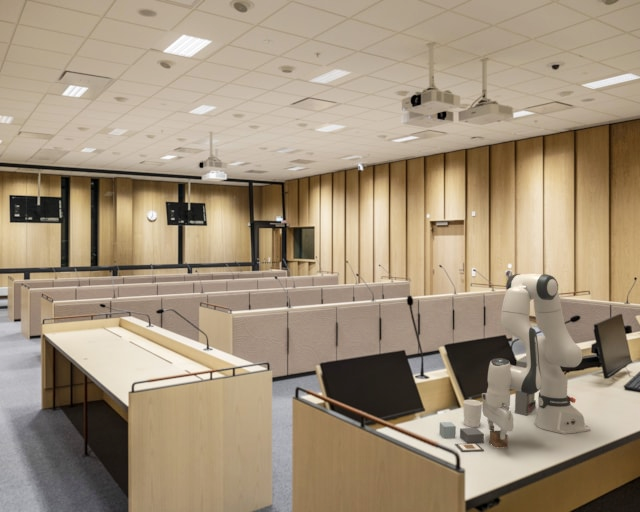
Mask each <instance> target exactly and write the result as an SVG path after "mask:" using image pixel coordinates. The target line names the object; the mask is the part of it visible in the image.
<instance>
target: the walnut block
mask: <svg viewBox="0 0 640 512" xmlns="http://www.w3.org/2000/svg"><path fill="white" fill-rule="evenodd" d="M500 433H501V430H494V431H491V430H489V444H490V445H491V444H492V446H493V447H494V448H495V449H498V448H497V447H504V448H508V439H509V438H508V437H509V436H508V434H507V433H506V435H505V439H500V438H499V434H500Z"/></svg>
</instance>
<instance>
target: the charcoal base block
mask: <svg viewBox="0 0 640 512" xmlns="http://www.w3.org/2000/svg"><path fill="white" fill-rule="evenodd" d="M459 438H460V439H461V440H462V441H463V442H465V444H468V443H477V444H478V445H479V444H484V443H485V434H484V432H482V431H481V430H479V429H478V427H464V428H463V427H462V428H460V429H459Z"/></svg>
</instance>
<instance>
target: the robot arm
mask: <svg viewBox="0 0 640 512" xmlns="http://www.w3.org/2000/svg"><path fill="white" fill-rule="evenodd" d="M505 287H506V288H505V289H506V291H505V294H504V297H503V301H502V306H501V313H500V324H501V327H502V328H503V330H504V331H505V332H507V333H508V334H509V335H511V336H513V337H514V338H516V339H518V340H519V341H520V342H522V343H523V345H524V347H525V356H526V360H527V367H526V368H524V367H518V366H516V365H513V364H511V363H510V361H509V360H508V359H506V358H501V357H499V358H493V359H491V360H490V362H489V365H488V371H487V384H488V386H487V389H486V393H485V392H483V393H481V398H482V401H481V403H482V409H481V412H482V415H483V416H484V417H485V418H487V424H488V430H489V431H495V425H496V426H497V428H500V430H501V433H500V434H499V438H500V439H505V435H506V434H507V433H508V432H513V430H514V415H513V412H512V410H511V408H510V406H511V390H513V391H516V390H517V391H521V392H523V393H527V394H530V395H532V394H534V393H535V394H536V393H538V398H537V399H538V401H537V402H538V409H537V415H536V418H535V421H534V425H535V426H536V427H538V428H540V429H542V430H545V431H548V432H549V431H550V432H555V433H558V434H562V435H568V434H575V433H576V432H577V433H583V432H590V431H591V427H590V426H589V424H587V423H585V417H584V415H583V413H581V412H580V411H579V409H577V408H576V407H574V406H573V405H572V404H575V403H576V401H577V399H576V398H574V397H570V396H569V395H568V377H567V375H566V374H565V373H564V372H563V370H562V368H576V367H578V366H579V365H580V364H581V363H582V361H583V355H584V354H583V351H582V349H581V347H580V346H579V345H578V344H576V343H575V341H574V339H573V338H572V337H571V335H570V332H569V331H568V328H567V327H566V326H567V325H566V322H565V318H564V315H563V314H564V313H563V308H562V302H561V298H560V294H559V292H558V291H559V284H558V281H557V279H556V277H554V276H553V275H550V274H546V273H544V274H542V273H535V272H533V273H532V272H531V273H517V274H512V275H510V276H509V278H508V279H507V281H506V284H505ZM531 300H533V308H534V309H533V310H534V315H535V323H536V326H537V329H538V330H539V331H540V332H541V333H542V334H543V335H540V336H539V335H537V331H536V329H534V328H533V327H532V324H531V322H530V315H531ZM561 367H562V368H561ZM500 430H499V431H500Z"/></svg>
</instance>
